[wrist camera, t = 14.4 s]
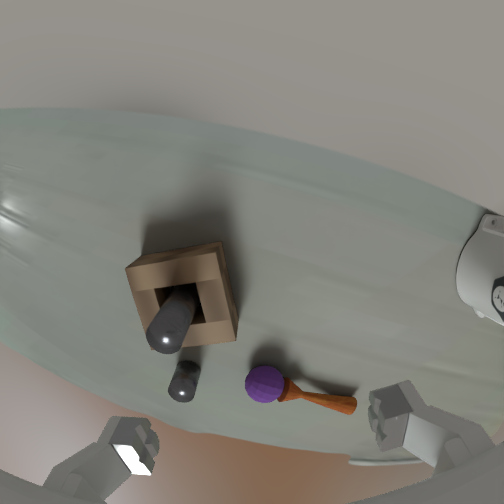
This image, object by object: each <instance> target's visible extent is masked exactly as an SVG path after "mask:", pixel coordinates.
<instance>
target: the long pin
mask: <svg viewBox="0 0 504 504" xmlns="http://www.w3.org/2000/svg"><path fill="white" fill-rule="evenodd" d="M199 303H200V297H199V293H198V289H197V285H196V282H194V283H187V284H181V285H176V286H175V287H174V289H173V290H172V292H171V293H170V295H169V296H168V298H167V299H166V301H165V302H164V304H163V305H162V307H161V308H160V310H159V311H158V313H157V314H156V316H155V317H154V319H153V320H152V322H151V323H150V325H149V326H148V328H147V330H146V338H147V341H148V343H149V345H150V346H151V347H152V348H153V349H155V350H156V351H158V352H160V353H163V354H172V353H175V352H177V351H178V350H179V349H180V348H181V346H182V344H183V341H184V339H185V336H186V334H187V331H188V329H189V327H190V324H191V322H192V319H193V317H194V315H195V312H196V310H197V307H198V305H199Z"/></svg>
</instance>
